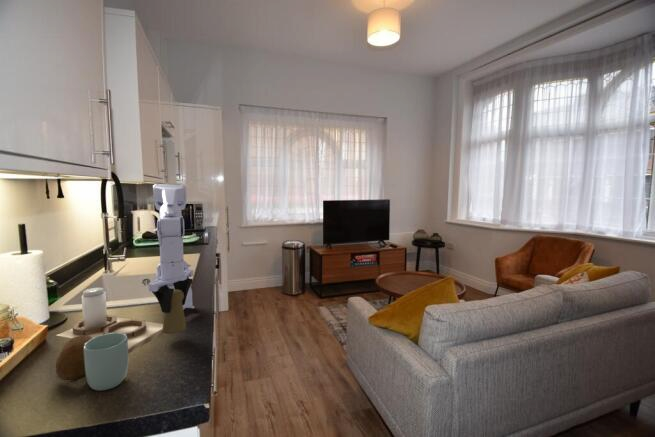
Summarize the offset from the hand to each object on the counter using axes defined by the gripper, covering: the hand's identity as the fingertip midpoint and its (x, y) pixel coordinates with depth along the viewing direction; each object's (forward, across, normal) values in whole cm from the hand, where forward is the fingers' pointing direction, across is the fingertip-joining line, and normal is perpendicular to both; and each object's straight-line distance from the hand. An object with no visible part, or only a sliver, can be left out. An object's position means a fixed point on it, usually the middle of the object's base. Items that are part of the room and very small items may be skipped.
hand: (173, 308), depth 86 cm
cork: (+6, 0, 0) cm, 6 cm away
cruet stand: (+10, -2, +19) cm, 21 cm away
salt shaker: (+8, -2, +26) cm, 27 cm away
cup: (+10, -20, 0) cm, 22 cm away
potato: (+10, -18, +10) cm, 23 cm away
